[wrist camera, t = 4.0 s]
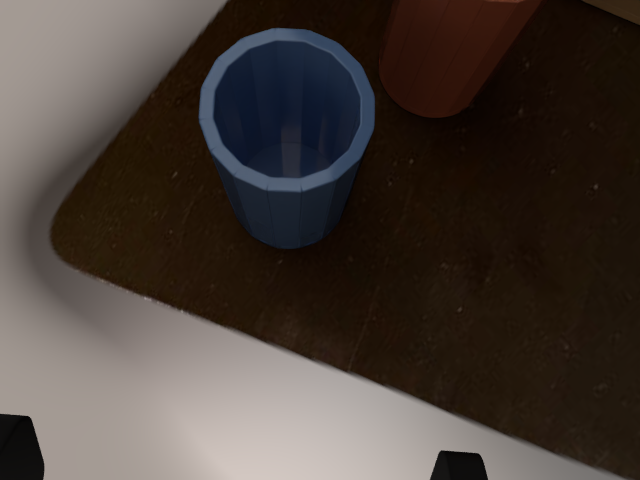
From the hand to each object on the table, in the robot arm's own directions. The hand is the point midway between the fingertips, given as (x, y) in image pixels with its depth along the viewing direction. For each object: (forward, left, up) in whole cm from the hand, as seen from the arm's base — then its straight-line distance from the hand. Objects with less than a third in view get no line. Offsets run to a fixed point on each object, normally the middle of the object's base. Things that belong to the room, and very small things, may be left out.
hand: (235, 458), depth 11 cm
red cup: (+1, +19, -15) cm, 25 cm away
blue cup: (-3, +10, -15) cm, 18 cm away
